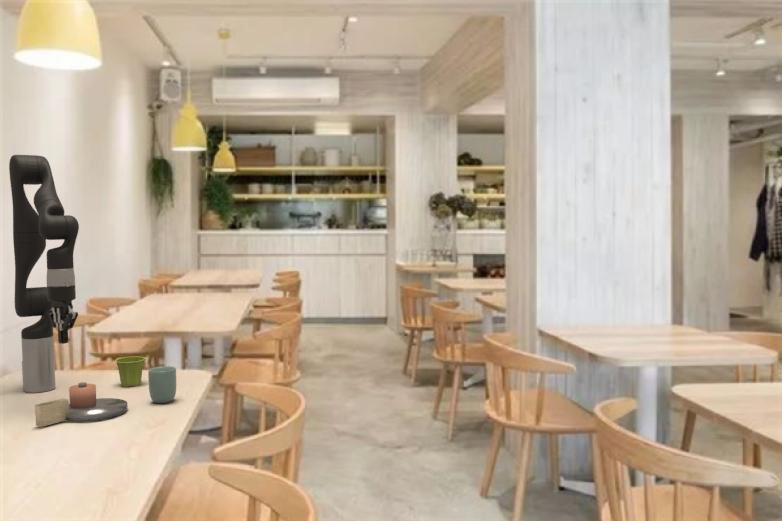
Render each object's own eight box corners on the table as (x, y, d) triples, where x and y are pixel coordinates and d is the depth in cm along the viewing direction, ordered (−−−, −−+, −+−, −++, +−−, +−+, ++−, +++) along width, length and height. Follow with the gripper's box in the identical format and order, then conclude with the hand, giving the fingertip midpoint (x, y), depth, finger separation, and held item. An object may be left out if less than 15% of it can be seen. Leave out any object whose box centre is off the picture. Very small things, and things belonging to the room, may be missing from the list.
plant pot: (152, 383, 235) (151, 357, 235) (131, 389, 227) (130, 363, 226) (131, 380, 239) (130, 355, 239) (109, 386, 231) (108, 360, 230)
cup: (168, 405, 207) (167, 372, 206) (144, 404, 208) (143, 371, 208) (181, 399, 214) (180, 366, 214) (158, 398, 216) (157, 365, 215)
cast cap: (64, 404, 201) (64, 384, 200) (87, 399, 207) (86, 379, 206) (78, 408, 197) (78, 387, 196) (101, 402, 203) (100, 382, 202)
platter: (20, 420, 191) (19, 400, 191) (103, 400, 211) (102, 382, 211) (57, 431, 181) (56, 410, 180) (140, 409, 201) (140, 390, 201)
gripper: (36, 284, 205) (38, 342, 206) (61, 286, 198) (63, 347, 199) (60, 282, 211) (63, 339, 213) (86, 284, 204) (88, 343, 205)
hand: (63, 342), depth 206 cm, fingers closed
